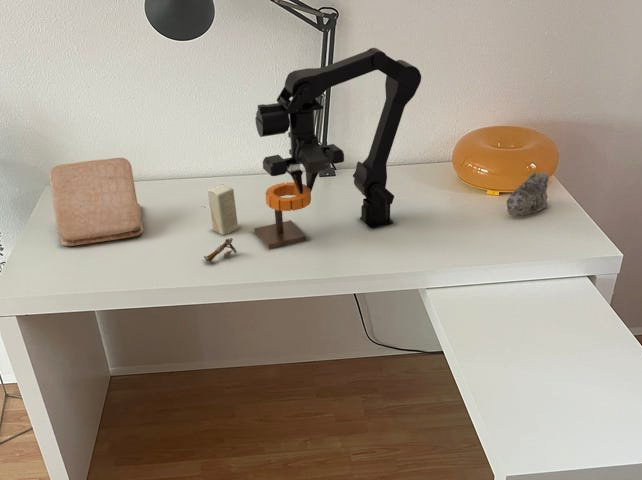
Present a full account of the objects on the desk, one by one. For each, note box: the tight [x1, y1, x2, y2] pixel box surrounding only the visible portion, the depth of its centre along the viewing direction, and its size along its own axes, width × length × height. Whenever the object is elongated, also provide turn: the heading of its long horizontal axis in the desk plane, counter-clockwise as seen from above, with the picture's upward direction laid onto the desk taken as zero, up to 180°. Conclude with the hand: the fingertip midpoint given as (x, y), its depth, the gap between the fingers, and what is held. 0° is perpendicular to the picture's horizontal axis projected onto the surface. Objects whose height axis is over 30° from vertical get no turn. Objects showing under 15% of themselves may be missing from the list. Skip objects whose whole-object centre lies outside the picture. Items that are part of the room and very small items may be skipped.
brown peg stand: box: [253, 209, 307, 250], centre depth 187 cm, size 10×10×7 cm
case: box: [48, 157, 144, 247], centre depth 193 cm, size 20×21×16 cm
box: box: [207, 184, 239, 236], centre depth 190 cm, size 5×4×11 cm
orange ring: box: [265, 181, 312, 212], centre depth 181 cm, size 11×11×3 cm
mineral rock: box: [506, 171, 549, 216], centre depth 194 cm, size 13×11×10 cm
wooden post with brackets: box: [203, 237, 238, 265], centre depth 180 cm, size 2×8×4 cm, turn 124°
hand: (305, 193), depth 183 cm, fingers closed on orange ring, 2 cm apart
